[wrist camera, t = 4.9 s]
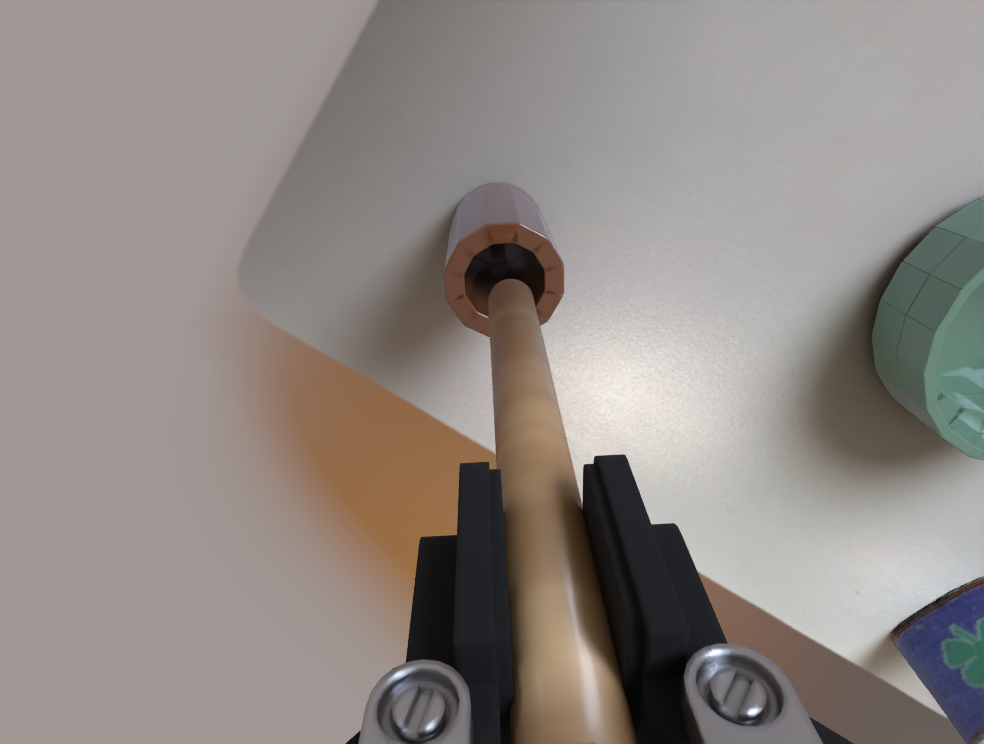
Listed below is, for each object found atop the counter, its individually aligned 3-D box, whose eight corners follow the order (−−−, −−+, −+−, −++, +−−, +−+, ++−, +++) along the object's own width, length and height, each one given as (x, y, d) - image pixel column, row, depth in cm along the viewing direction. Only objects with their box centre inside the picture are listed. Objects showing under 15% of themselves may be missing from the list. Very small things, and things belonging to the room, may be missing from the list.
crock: (448, 185, 33) (440, 227, 24) (542, 179, 33) (564, 220, 24) (455, 275, 35) (450, 341, 27) (543, 270, 35) (564, 334, 27)
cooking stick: (486, 273, 23) (514, 820, 7) (531, 271, 23) (667, 812, 7) (489, 315, 23) (519, 900, 7) (532, 313, 23) (657, 892, 7)
